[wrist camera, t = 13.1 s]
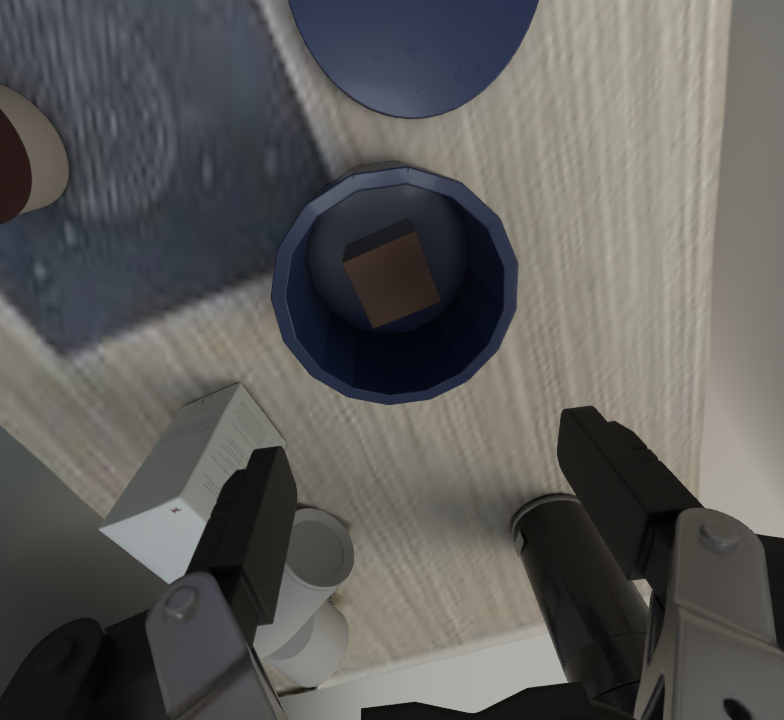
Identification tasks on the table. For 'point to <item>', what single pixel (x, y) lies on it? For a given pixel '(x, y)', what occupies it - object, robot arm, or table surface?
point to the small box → (187, 479)
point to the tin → (415, 331)
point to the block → (390, 273)
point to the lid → (413, 49)
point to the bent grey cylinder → (309, 602)
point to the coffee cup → (28, 157)
